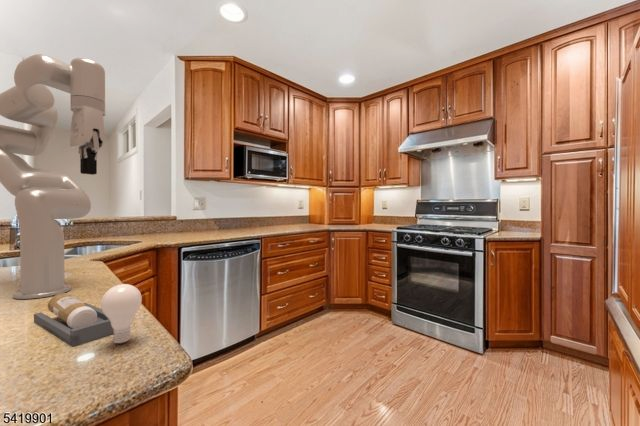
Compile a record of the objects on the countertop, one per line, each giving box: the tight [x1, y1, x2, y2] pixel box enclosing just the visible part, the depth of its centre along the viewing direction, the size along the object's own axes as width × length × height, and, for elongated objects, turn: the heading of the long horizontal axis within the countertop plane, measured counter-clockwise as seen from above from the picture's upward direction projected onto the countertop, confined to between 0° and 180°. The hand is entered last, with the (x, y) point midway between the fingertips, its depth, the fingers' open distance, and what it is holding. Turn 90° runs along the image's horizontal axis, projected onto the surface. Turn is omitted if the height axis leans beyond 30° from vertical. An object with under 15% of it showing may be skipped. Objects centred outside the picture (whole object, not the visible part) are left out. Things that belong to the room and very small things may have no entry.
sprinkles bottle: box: [47, 292, 97, 329], centre depth 62 cm, size 5×5×13 cm
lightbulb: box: [100, 283, 143, 345], centre depth 54 cm, size 6×6×11 cm
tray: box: [33, 302, 114, 347], centre depth 63 cm, size 22×9×3 cm, turn 58°
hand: (88, 173), depth 81 cm, fingers closed
